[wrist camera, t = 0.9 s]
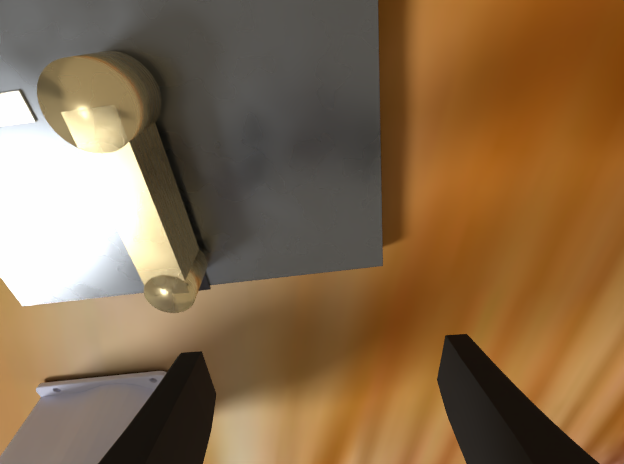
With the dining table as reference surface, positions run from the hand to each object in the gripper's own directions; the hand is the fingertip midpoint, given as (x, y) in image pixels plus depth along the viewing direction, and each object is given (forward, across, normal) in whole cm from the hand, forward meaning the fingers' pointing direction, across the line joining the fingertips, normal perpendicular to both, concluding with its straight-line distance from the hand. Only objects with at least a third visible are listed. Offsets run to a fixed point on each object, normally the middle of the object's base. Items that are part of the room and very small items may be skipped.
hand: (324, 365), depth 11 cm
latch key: (+7, +7, -3) cm, 11 cm away
